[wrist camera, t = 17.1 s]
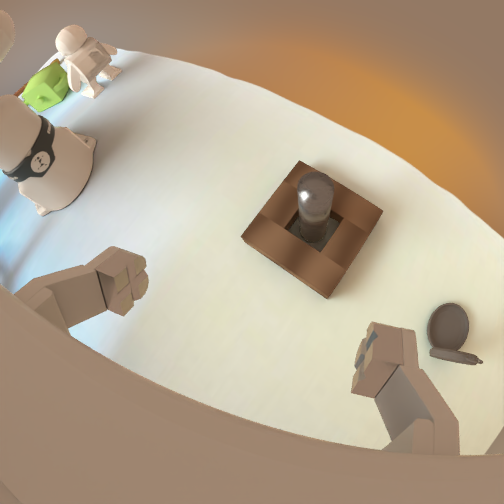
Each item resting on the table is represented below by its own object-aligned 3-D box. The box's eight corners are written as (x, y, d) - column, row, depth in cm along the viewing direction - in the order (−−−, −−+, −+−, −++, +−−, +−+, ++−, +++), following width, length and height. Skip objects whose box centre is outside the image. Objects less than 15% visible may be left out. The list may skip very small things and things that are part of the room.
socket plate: (244, 242, 39) (240, 236, 37) (299, 169, 41) (299, 160, 38) (327, 299, 36) (328, 297, 33) (379, 218, 37) (383, 210, 35)
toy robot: (114, 62, 58) (78, 10, 39) (133, 66, 56) (95, 7, 37) (77, 100, 57) (33, 51, 37) (92, 107, 54) (44, 52, 35)
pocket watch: (458, 296, 32) (498, 285, 23) (472, 353, 30) (513, 356, 20) (410, 318, 33) (443, 313, 24) (424, 377, 31) (459, 390, 21)
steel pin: (294, 232, 39) (289, 192, 27) (309, 212, 39) (310, 165, 28) (316, 247, 38) (321, 211, 26) (331, 226, 38) (341, 183, 27)
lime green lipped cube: (28, 122, 60) (9, 106, 51) (39, 98, 63) (22, 81, 54) (69, 101, 57) (49, 80, 48) (80, 77, 60) (63, 56, 51)
